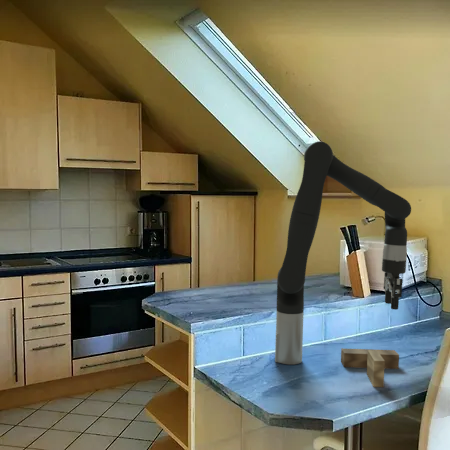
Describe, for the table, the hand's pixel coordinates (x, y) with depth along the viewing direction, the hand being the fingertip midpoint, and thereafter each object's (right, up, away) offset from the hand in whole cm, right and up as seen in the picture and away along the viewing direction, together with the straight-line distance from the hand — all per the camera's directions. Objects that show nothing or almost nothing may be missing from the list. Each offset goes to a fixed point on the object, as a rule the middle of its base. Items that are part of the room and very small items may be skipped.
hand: (391, 306), depth 161 cm
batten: (-7, -21, +1) cm, 22 cm away
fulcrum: (-9, -21, -12) cm, 26 cm away
